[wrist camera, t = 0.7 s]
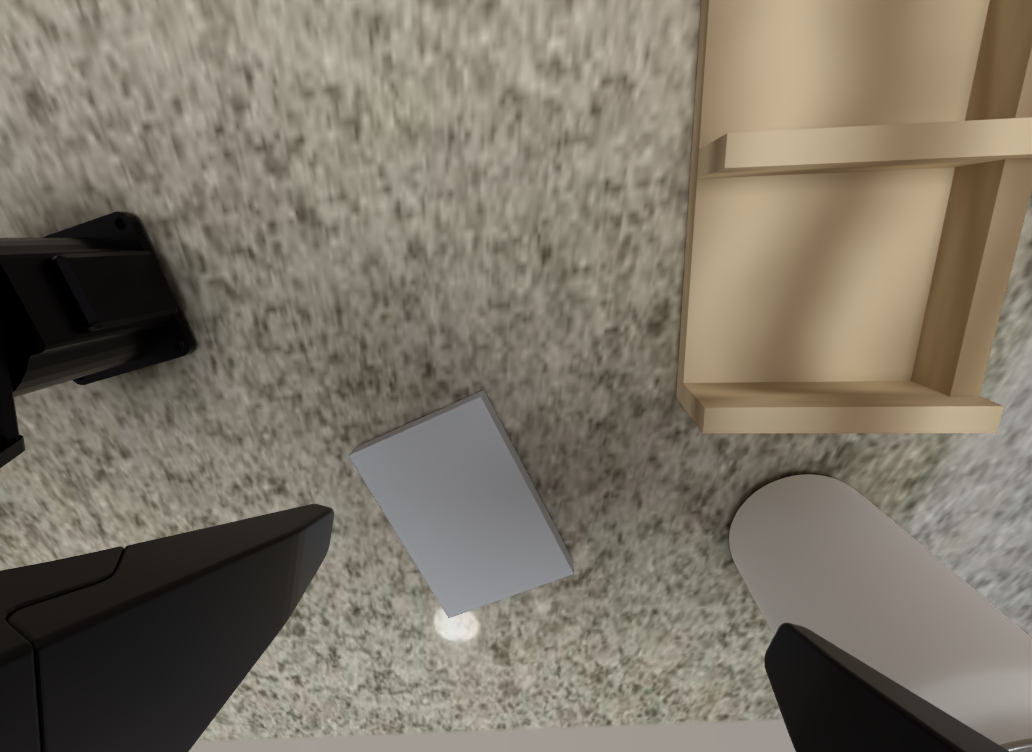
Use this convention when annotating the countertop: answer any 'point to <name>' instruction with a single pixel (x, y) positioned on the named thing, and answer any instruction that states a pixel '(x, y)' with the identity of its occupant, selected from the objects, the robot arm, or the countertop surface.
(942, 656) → the can
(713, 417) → the rack
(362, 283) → the countertop surface
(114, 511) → the countertop surface
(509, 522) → the block
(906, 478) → the countertop surface
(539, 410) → the countertop surface
